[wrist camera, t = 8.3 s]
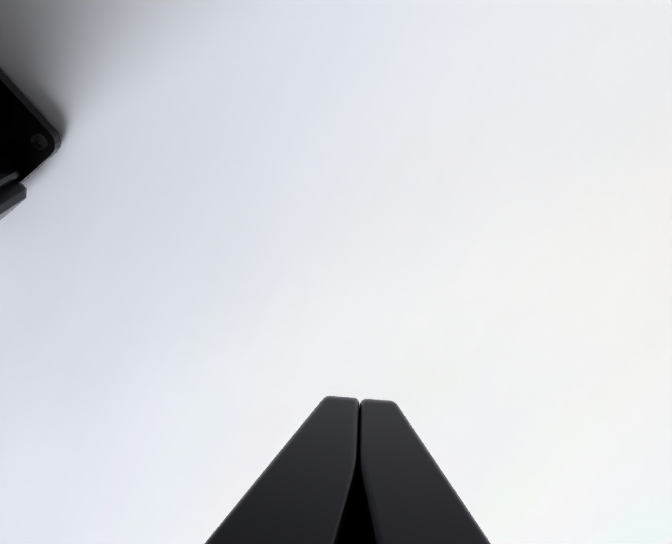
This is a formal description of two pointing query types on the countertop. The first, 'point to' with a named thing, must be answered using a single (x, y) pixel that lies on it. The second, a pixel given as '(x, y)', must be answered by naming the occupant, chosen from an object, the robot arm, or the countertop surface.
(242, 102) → the countertop surface
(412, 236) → the countertop surface
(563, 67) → the countertop surface
